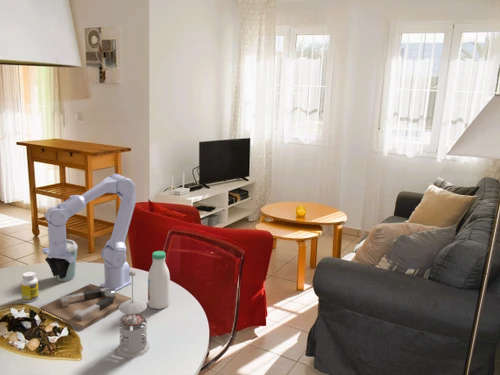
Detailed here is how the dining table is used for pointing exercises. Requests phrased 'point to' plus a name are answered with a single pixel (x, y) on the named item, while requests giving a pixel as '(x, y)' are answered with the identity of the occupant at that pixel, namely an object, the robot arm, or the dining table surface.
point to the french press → (133, 340)
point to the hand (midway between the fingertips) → (59, 276)
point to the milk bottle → (158, 282)
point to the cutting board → (83, 308)
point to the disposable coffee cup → (71, 269)
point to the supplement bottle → (29, 287)
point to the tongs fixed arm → (93, 309)
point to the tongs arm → (88, 295)
